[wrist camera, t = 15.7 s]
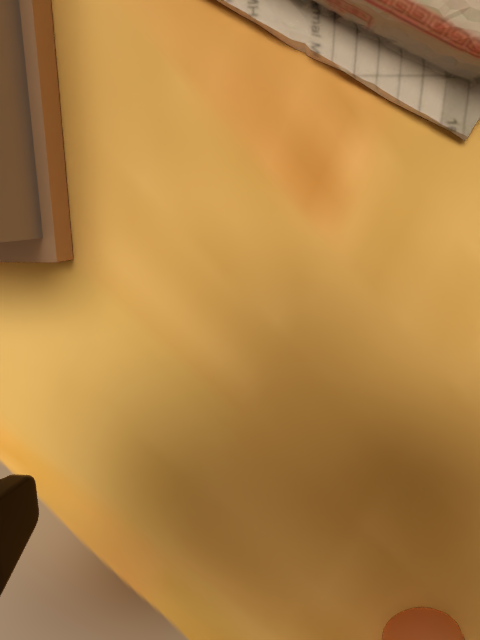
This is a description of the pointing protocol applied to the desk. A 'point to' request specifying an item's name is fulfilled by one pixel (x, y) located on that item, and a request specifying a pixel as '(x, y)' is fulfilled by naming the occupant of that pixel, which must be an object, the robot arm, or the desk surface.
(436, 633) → the terracotta part
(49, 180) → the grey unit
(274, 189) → the desk surface
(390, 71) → the packaged product
